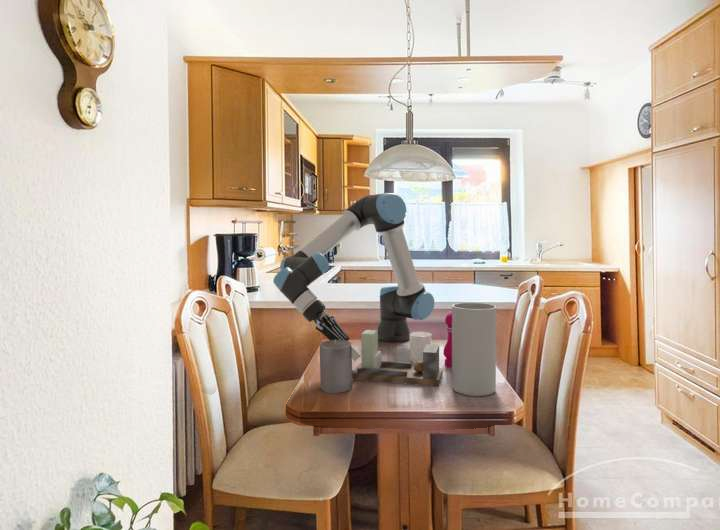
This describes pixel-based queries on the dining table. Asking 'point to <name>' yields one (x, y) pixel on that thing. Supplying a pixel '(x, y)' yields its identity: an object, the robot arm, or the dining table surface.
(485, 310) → the cylinder vase
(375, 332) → the block
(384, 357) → the dining table surface
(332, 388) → the pillar candle
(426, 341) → the white cup
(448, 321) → the pink bowling pin
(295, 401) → the dining table surface
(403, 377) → the press bench
